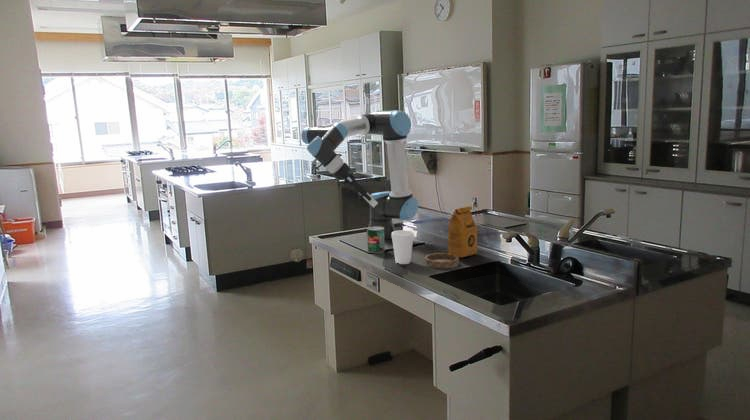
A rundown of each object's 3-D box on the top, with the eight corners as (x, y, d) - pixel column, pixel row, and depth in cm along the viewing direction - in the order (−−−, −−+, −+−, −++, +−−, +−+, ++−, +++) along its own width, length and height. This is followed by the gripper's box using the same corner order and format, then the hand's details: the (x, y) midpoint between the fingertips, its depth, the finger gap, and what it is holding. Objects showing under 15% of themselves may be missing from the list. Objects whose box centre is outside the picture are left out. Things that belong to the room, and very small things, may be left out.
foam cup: (418, 262, 231) (418, 233, 228) (400, 266, 226) (400, 236, 224) (405, 257, 239) (405, 229, 236) (387, 261, 234) (387, 232, 231)
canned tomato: (385, 249, 254) (385, 226, 252) (383, 253, 247) (383, 230, 245) (369, 248, 256) (368, 226, 254) (366, 253, 248) (365, 229, 246)
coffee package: (480, 255, 241) (481, 206, 237) (462, 260, 234) (462, 210, 229) (463, 250, 249) (464, 204, 245) (445, 255, 241) (445, 207, 237)
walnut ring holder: (422, 259, 235) (422, 253, 234) (454, 258, 236) (454, 252, 235) (428, 269, 221) (428, 262, 221) (461, 268, 222) (461, 261, 222)
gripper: (329, 171, 238) (362, 204, 242) (334, 177, 213) (371, 213, 218) (341, 159, 238) (374, 192, 242) (347, 163, 213) (384, 200, 218)
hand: (373, 202), depth 230 cm, fingers open, 13 cm apart
